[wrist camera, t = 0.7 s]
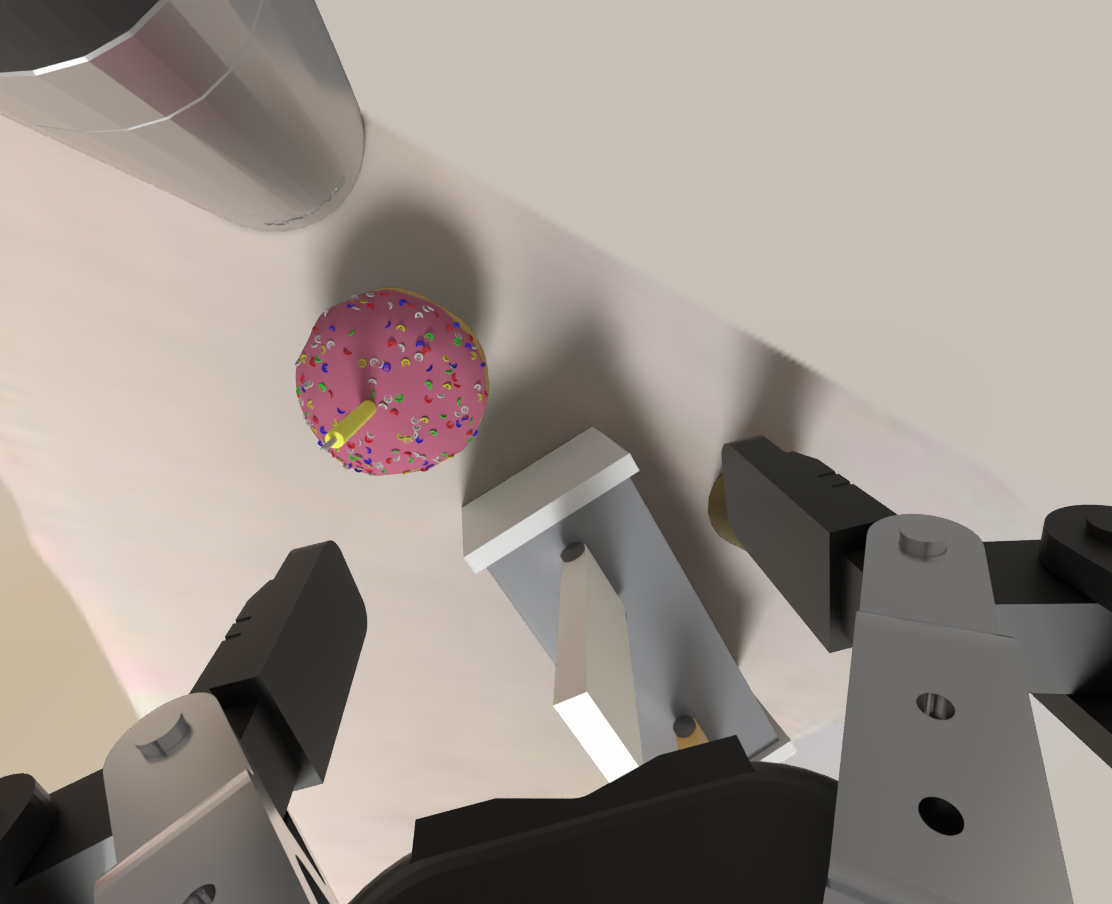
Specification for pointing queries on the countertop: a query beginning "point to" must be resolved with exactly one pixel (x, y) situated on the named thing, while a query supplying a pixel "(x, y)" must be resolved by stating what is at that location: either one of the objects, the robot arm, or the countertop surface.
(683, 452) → the countertop surface
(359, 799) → the countertop surface
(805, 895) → the robot arm
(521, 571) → the switch box
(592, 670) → the rocker switch
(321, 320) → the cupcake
